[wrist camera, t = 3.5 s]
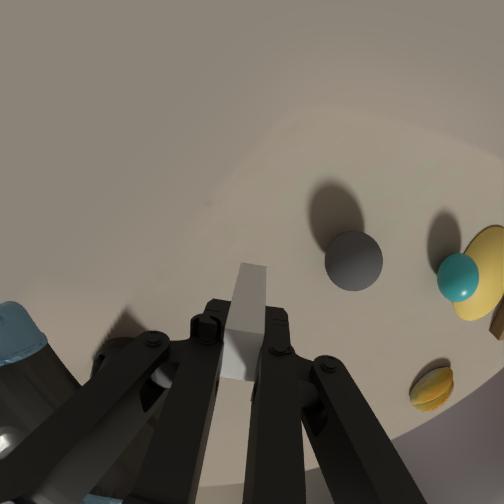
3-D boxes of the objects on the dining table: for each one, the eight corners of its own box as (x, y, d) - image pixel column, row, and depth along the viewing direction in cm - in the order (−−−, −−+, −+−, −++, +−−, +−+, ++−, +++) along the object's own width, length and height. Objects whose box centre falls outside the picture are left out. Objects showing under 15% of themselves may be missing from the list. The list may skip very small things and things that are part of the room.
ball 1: (314, 272, 28) (324, 298, 22) (326, 220, 26) (340, 236, 21) (362, 278, 28) (380, 304, 22) (376, 229, 26) (399, 247, 21)
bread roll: (447, 356, 32) (459, 372, 28) (450, 384, 34) (459, 399, 30) (404, 383, 34) (412, 401, 30) (411, 408, 36) (418, 424, 32)
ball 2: (423, 286, 28) (445, 309, 22) (437, 243, 26) (464, 260, 21) (453, 290, 28) (476, 311, 22) (467, 250, 26) (493, 267, 21)
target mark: (437, 318, 29) (437, 319, 29) (472, 216, 24) (473, 216, 24) (492, 320, 29) (493, 320, 29) (523, 236, 24) (524, 237, 24)
